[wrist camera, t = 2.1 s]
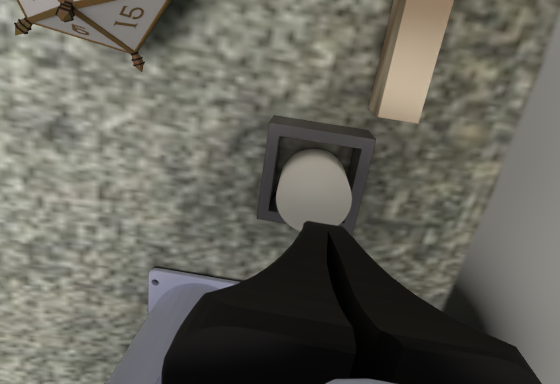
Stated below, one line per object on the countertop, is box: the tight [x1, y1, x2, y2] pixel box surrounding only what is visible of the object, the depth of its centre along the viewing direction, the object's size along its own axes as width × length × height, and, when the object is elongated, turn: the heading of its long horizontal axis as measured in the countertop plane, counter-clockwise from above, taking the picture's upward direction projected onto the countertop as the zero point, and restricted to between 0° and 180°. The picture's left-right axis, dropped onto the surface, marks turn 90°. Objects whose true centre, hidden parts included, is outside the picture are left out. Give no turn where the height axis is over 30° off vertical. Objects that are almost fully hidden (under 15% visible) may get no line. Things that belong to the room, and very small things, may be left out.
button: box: [276, 148, 352, 231], centre depth 18 cm, size 4×4×3 cm
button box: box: [257, 116, 376, 235], centre depth 20 cm, size 6×6×2 cm
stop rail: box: [368, 0, 454, 123], centre depth 17 cm, size 10×2×3 cm, turn 172°
